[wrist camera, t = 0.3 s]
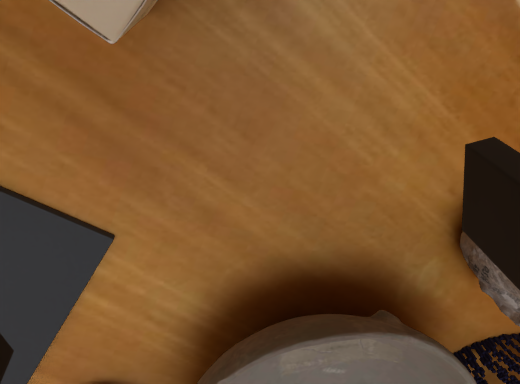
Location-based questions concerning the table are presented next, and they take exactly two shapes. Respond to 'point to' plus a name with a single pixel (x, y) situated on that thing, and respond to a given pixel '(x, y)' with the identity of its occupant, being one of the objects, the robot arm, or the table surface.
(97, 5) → the cosmetic box
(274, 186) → the table surface
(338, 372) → the bowl
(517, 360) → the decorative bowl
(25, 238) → the slate mat
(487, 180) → the robot arm
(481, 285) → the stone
